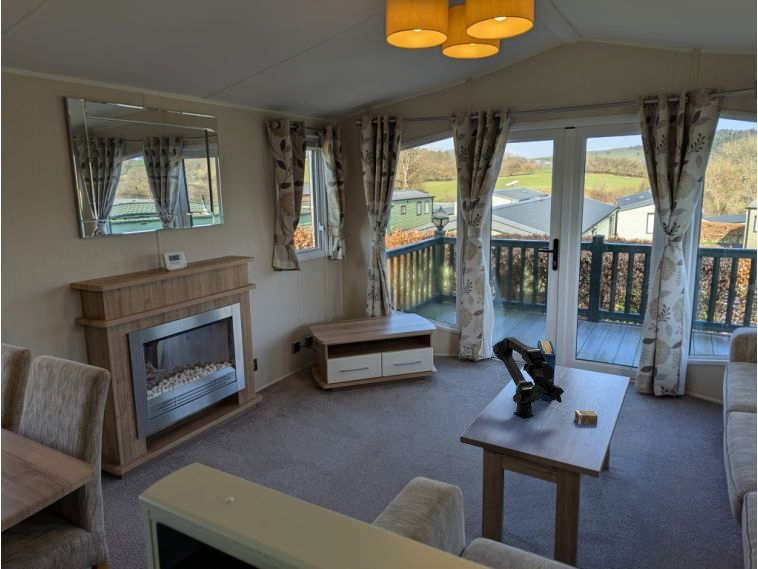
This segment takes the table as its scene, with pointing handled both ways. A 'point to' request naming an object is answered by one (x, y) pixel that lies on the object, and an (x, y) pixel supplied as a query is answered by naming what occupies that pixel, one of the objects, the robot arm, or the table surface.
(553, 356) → the book
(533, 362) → the robot arm
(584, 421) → the brown rectangular block
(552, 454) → the table surface
